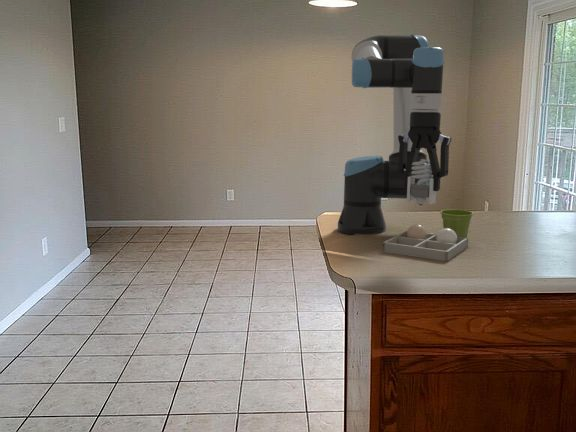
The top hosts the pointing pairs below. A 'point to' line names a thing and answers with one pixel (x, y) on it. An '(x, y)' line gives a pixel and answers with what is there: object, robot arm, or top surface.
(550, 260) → the top surface
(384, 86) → the robot arm
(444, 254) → the carton
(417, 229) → the brown egg
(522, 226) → the top surface
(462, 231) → the plant pot
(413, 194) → the light bulb
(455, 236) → the white egg
